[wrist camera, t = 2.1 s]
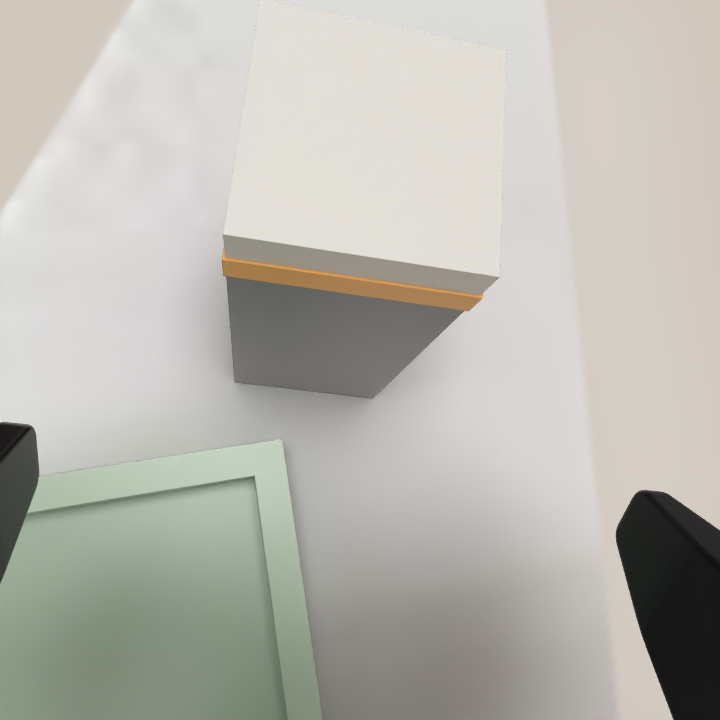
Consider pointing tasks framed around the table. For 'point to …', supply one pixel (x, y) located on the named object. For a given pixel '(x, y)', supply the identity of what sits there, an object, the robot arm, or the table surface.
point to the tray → (159, 594)
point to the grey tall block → (359, 198)
